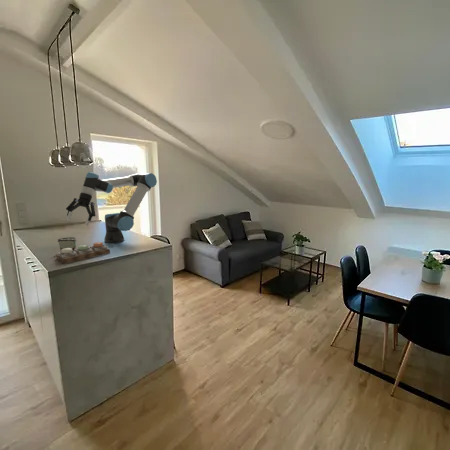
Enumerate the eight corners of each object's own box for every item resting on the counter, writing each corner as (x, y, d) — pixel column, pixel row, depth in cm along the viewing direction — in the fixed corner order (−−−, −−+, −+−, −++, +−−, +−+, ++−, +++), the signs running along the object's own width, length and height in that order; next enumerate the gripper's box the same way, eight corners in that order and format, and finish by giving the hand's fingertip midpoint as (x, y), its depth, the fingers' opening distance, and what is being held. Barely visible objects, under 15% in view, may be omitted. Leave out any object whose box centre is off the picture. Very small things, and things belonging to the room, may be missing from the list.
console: (100, 249, 194) (100, 243, 193) (109, 253, 185) (109, 246, 184) (56, 259, 172) (55, 252, 171) (64, 263, 163) (63, 256, 162)
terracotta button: (100, 244, 189) (100, 241, 189) (104, 246, 185) (104, 243, 185) (92, 246, 185) (91, 243, 184) (95, 248, 181) (95, 244, 181)
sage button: (86, 247, 182) (85, 244, 181) (89, 249, 178) (89, 245, 178) (76, 249, 177) (76, 246, 177) (80, 251, 174) (80, 247, 173)
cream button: (70, 250, 174) (70, 247, 174) (73, 252, 171) (73, 249, 170) (60, 252, 170) (59, 249, 170) (63, 254, 166) (63, 251, 166)
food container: (81, 250, 193) (79, 236, 191) (76, 252, 186) (75, 238, 185) (63, 250, 192) (62, 237, 190) (58, 252, 186) (57, 239, 184)
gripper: (66, 188, 181) (56, 218, 178) (100, 196, 180) (91, 226, 176) (73, 191, 189) (63, 219, 185) (106, 199, 187) (97, 227, 184)
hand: (77, 223), depth 181 cm, fingers open, 13 cm apart
